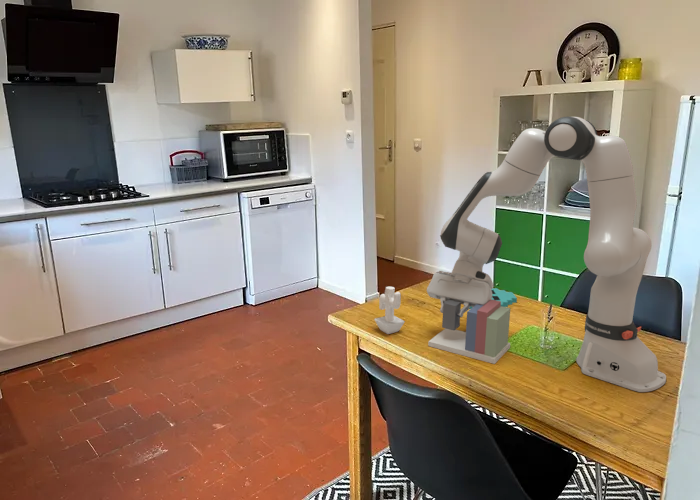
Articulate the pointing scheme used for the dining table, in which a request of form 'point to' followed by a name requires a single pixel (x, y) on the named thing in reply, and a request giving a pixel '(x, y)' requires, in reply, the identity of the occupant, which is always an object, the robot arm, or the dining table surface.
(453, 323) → the bookend block
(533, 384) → the dining table surface
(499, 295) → the alien figure
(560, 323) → the dining table surface
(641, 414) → the dining table surface
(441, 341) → the shelf board
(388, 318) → the figurine
